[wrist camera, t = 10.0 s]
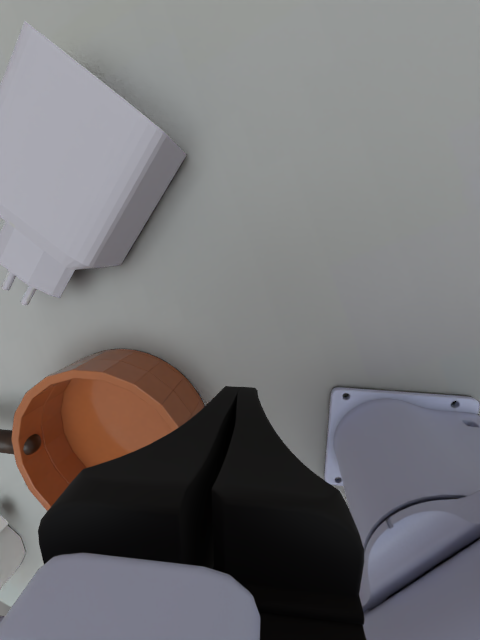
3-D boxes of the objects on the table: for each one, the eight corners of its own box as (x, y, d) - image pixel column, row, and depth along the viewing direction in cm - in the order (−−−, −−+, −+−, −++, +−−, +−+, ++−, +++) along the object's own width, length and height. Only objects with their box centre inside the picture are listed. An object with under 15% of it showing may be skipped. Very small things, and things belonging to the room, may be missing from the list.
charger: (-4, 256, 23) (80, 69, 19) (88, 327, 23) (191, 157, 19) (-77, 256, 18) (13, 9, 14) (39, 345, 18) (160, 126, 14)
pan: (209, 353, 22) (189, 378, 17) (212, 503, 25) (196, 556, 20) (48, 344, 24) (-5, 364, 19) (70, 483, 27) (28, 528, 22)
